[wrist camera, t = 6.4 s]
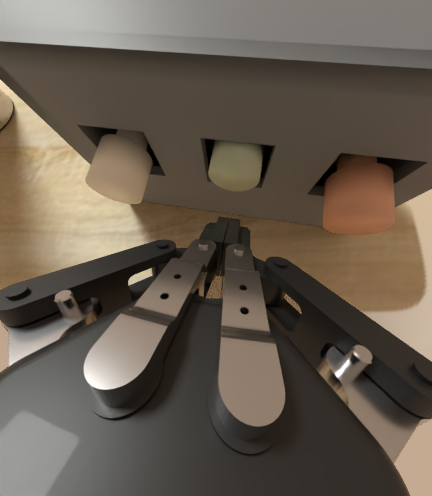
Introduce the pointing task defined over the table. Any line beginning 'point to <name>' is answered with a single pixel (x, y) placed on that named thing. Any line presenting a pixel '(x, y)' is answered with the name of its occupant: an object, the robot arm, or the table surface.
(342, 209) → the terracotta button
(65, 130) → the console
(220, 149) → the sage button
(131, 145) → the cream button
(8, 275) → the table surface
